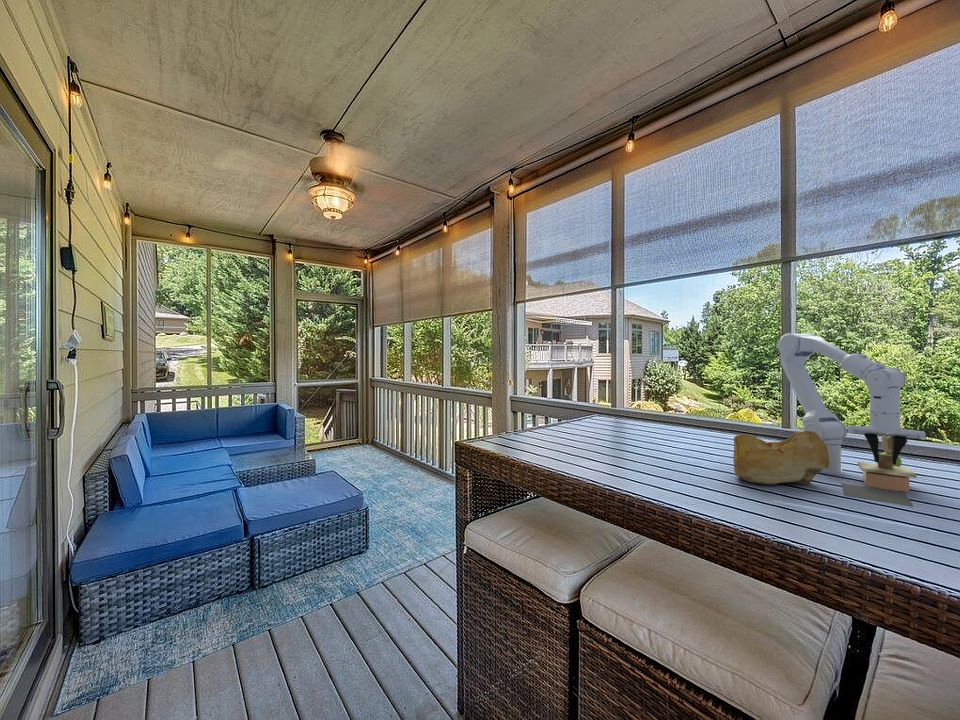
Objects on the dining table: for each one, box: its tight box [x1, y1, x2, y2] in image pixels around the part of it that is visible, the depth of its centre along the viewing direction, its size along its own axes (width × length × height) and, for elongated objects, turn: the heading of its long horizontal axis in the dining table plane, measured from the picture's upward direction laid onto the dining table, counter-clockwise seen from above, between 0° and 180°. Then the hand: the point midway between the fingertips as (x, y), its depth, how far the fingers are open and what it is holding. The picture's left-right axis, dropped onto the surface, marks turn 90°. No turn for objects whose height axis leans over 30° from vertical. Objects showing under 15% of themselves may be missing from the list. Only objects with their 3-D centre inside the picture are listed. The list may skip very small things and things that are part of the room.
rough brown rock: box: [732, 430, 829, 485], centre depth 115 cm, size 23×16×15 cm
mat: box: [840, 483, 915, 508], centre depth 100 cm, size 12×12×1 cm
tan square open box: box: [862, 471, 910, 493], centre depth 107 cm, size 8×8×4 cm
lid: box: [857, 453, 917, 479], centre depth 107 cm, size 10×10×4 cm
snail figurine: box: [876, 433, 903, 467], centre depth 122 cm, size 5×6×12 cm
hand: (884, 462), depth 107 cm, fingers closed on lid, 2 cm apart
